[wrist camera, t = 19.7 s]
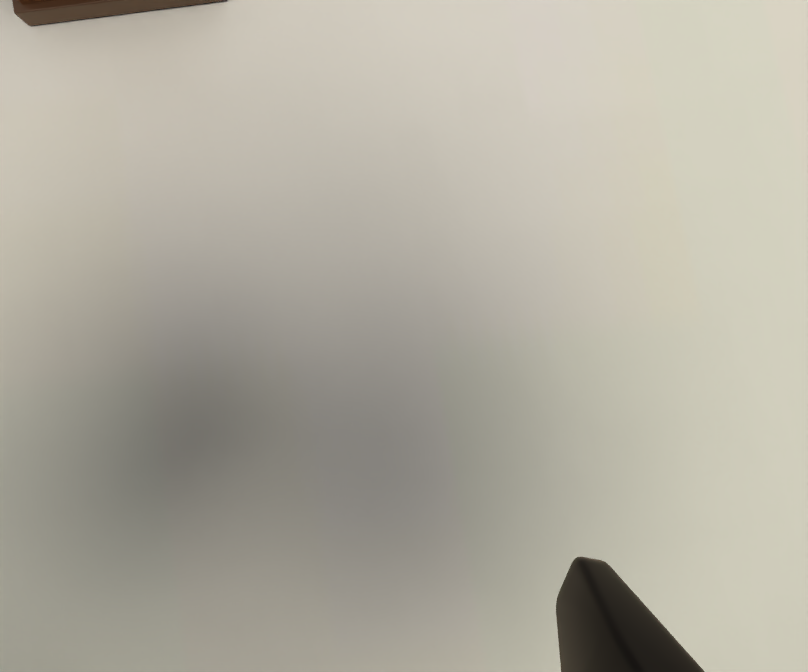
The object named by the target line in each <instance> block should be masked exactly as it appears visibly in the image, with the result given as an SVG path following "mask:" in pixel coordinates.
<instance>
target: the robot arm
mask: <svg viewBox="0 0 808 672" xmlns="http://www.w3.org/2000/svg"><path fill="white" fill-rule="evenodd" d="M556 616H557V627H558V639H559V650H560V662H561V672H704V670H703V669H702V668H701V667H700V666H699V665H698V664H697V663H696V662H695V660H694V659H693V658H692V657H691V656H690V655H689V654H688V653H687V652H686V650H685V649H684V648H683V647H682V646H681V645H680V644H679V643H678V641H677V640H676V639H675V638H674V637H673V636H672V635H671V634H670V633H669V631H668V630H667V629H666V628H665V627H664V626H663V625H662V624H661V623H660V621H659V620H658V619H657V618H656V617H655V616H654V615H653V614H652V612H651V611H650V610H649V609H648V608H647V607H646V606H645V605H644V604H643V602H642V601H641V600H640V599H639V598H638V597H637V596H636V595H635V594H634V592H633V591H632V590H631V589H630V588H629V587H628V586H627V585H626V584H625V582H624V581H623V580H622V579H621V578H620V577H619V576H618V575H617V573H616V572H615V571H614V570H613V569H612V568H611V567H610V566H609V565H608V564H607V563H606V562H604V561H601V560H596V559H591V558H585V557H577V558H576V559H575V560H574V561H573V562H572V564H571V566H570V569H569V571H568V573H567V575H566V578H565V580H564V582H563V585H562V587H561V589H560V591H559V594H558V597H557V603H556Z"/></svg>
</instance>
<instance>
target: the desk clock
mask: <svg viewBox="0 0 808 672" xmlns="http://www.w3.org/2000/svg"><path fill="white" fill-rule="evenodd" d="M12 1H13V7H14V12H15V14H16V15H17V16H18V17H20V18H21V19H22V20H23V21H24V22H26V23H27V24H28V25H29V26H33V25H40V24H48V23H56V22H64V21H71V20H79V19H87V18H95V17H103V16H110V15H118V14H126V13H134V12H141V11H149V10H157V9H165V8H172V7H180V6H188V5H196V4H204V3H211V2H219V1H227V0H12Z"/></svg>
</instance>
